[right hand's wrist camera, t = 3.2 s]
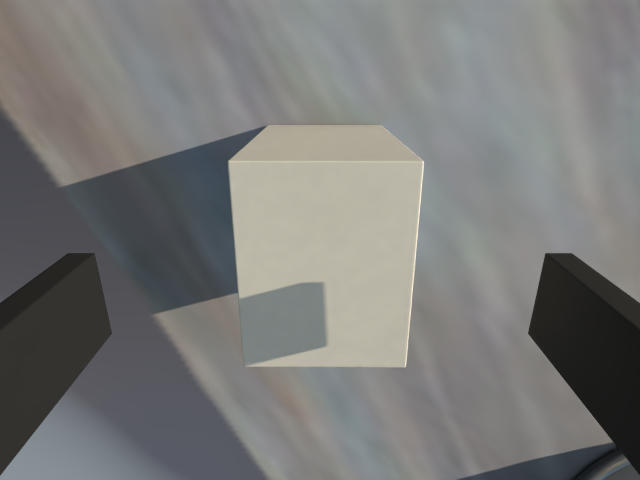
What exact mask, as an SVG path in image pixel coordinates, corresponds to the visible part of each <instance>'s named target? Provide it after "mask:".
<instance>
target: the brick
mask: <svg viewBox="0 0 640 480" xmlns="http://www.w3.org/2000/svg"><path fill="white" fill-rule="evenodd" d="M423 167H424V162H423V161H422V160H421V159H420V158H419V157H418V156H417V155H415V154H414V153H413V152H412V151H411V150H410V149H408V148H407V147H406V146H405V145H404V144H402V143H401V142H400V141H399V140H398V139H397V138H395V137H394V136H393V135H392V134H391V133H389V132H388V131H387V130H386V129H385V128H384V127H382V126H381V125H268V126H267V127H266V128H265V129H263V130H262V131H261V132H260V133H259V134H258V135H257V136H256V137H254V138H253V139H252V140H251V141H250V142H249V143H248V144H247V145H246V146H244V147H243V148H242V149H241V150H240V151H239V152H238V153H237V154H235V155H234V156H233V157H232V158H231V159H230V160H229V161H228V174H229V186H230V199H231V212H232V225H233V237H234V250H235V263H236V276H237V288H238V301H239V314H240V327H241V339H242V352H243V365H244V367H406V360H407V348H408V337H409V326H410V314H411V303H412V292H413V280H414V269H415V258H416V246H417V235H418V224H419V212H420V201H421V190H422V178H423Z"/></svg>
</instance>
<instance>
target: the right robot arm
mask: <svg viewBox="0 0 640 480" xmlns="http://www.w3.org/2000/svg"><path fill="white" fill-rule="evenodd" d="M111 334H112V332H111V327H110V323H109V318H108V313H107V309H106V305H105V300H104V295H103V291H102V286H101V281H100V277H99V272H98V267H97V263H96V258H95V254H94V253H68V254H67V255H65V256H64V257H63V258H61V259H60V260H58V261H57V262H56V263H54V264H53V265H52V266H50V267H49V268H48V269H46V270H45V271H43V272H42V273H41V274H39V275H38V276H37V277H35V278H34V279H33V280H31V281H30V282H28V283H27V284H26V285H24V286H23V287H22V288H20V289H19V290H18V291H16V292H15V293H13V294H12V295H11V296H9V297H8V298H7V299H5V300H4V301H3V302H1V303H0V475H1V474H2V473H3V471H4V470H5V469H6V467H7V466H8V465H9V464H10V462H11V461H12V460H13V459H14V457H15V456H16V455H17V453H18V452H19V451H20V450H21V448H22V447H23V446H24V445H25V443H26V442H27V441H28V439H29V438H30V437H31V436H32V434H33V433H34V432H35V431H36V429H37V428H38V427H39V425H40V424H41V423H42V422H43V420H44V419H45V418H46V417H47V415H48V414H49V413H50V411H51V410H52V409H53V408H54V406H55V405H56V404H57V403H58V401H59V400H60V399H61V397H62V396H63V395H64V394H65V392H66V391H67V390H68V389H69V387H70V386H71V385H72V383H73V382H74V381H75V380H76V378H77V377H78V376H79V375H80V373H81V372H82V371H83V369H84V368H85V367H86V366H87V364H88V363H89V362H90V361H91V359H92V358H93V357H94V355H95V354H96V353H97V352H98V350H99V349H100V348H101V347H102V345H103V344H104V343H105V342H106V340H107V339H108V338H109V336H110V335H111ZM528 334H529V335H530V336H531V338H532V339H533V340H534V342H535V343H536V344H537V345H538V347H539V348H540V349H541V350H542V352H543V353H544V354H545V356H546V357H547V358H548V359H549V361H550V362H551V363H552V364H553V366H554V367H555V368H556V370H557V371H558V372H559V373H560V375H561V376H562V377H563V378H564V380H565V381H566V382H567V384H568V385H569V386H570V387H571V389H572V390H573V391H574V392H575V394H576V395H577V396H578V397H579V399H580V400H581V401H582V403H583V404H584V405H585V406H586V408H587V409H588V410H589V411H590V413H591V414H592V415H593V417H594V418H595V419H596V420H597V422H598V423H599V424H600V425H601V427H602V428H603V429H604V431H605V432H606V433H607V434H608V436H609V437H610V438H611V439H612V441H613V442H614V443H615V445H616V446H617V447H618V448H619V449H618V450H616V451H614V452H612V453H610V454H608V455H606V456H605V457H603V458H601V459H600V460H598V461H597V462H595V463H594V464H592V465H591V466H590V467H588V468H587V469H586V470H585V471H583V472H582V473H581V474H580V475H579V476H578V477H577V478H576V479H575V480H640V303H639V302H637V301H636V300H635V299H633V298H632V297H631V296H629V295H628V294H627V293H625V292H624V291H622V290H621V289H620V288H618V287H617V286H616V285H614V284H613V283H612V282H610V281H609V280H607V279H606V278H605V277H603V276H602V275H601V274H599V273H598V272H597V271H595V270H594V269H592V268H591V267H590V266H588V265H587V264H586V263H584V262H583V261H582V260H580V259H579V258H577V257H576V256H575V255H573V254H572V253H546V254H545V258H544V263H543V267H542V272H541V277H540V281H539V286H538V290H537V295H536V300H535V304H534V309H533V313H532V318H531V323H530V327H529V332H528Z"/></svg>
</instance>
